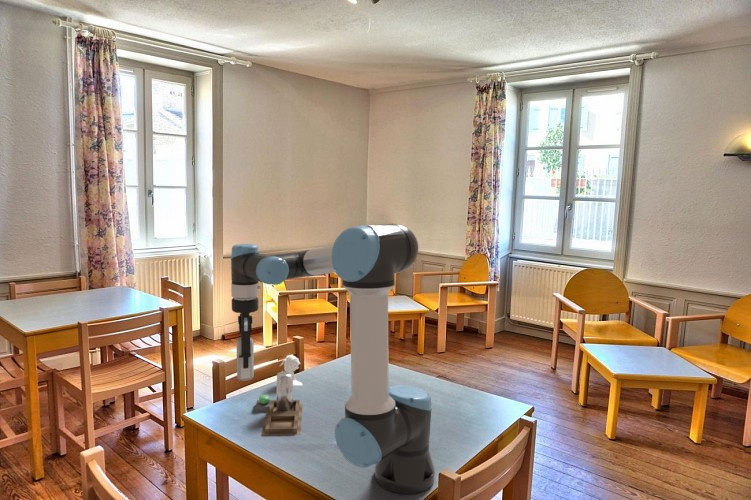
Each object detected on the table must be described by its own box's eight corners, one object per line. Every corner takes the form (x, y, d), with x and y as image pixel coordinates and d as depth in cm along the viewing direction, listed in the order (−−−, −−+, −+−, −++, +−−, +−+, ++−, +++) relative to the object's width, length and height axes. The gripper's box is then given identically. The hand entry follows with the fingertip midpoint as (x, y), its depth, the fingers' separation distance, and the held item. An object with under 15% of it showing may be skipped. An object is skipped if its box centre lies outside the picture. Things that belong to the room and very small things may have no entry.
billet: (292, 414, 158) (292, 377, 156) (275, 414, 157) (276, 377, 156) (292, 407, 163) (293, 371, 161) (277, 407, 162) (277, 371, 160)
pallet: (300, 439, 146) (300, 429, 146) (248, 440, 144) (248, 430, 144) (302, 408, 166) (302, 399, 165) (257, 408, 164) (257, 399, 164)
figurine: (271, 388, 180) (271, 356, 178) (289, 381, 187) (290, 349, 185) (289, 395, 175) (290, 362, 173) (307, 387, 182) (308, 355, 180)
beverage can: (244, 382, 147) (244, 342, 145) (233, 378, 150) (233, 339, 148) (257, 377, 151) (257, 338, 149) (245, 373, 154) (245, 335, 152)
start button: (268, 403, 160) (269, 399, 160) (258, 403, 160) (258, 399, 159) (269, 399, 163) (270, 395, 163) (259, 399, 163) (259, 395, 163)
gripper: (260, 304, 140) (260, 385, 143) (256, 290, 157) (256, 363, 160) (231, 305, 138) (232, 387, 141) (231, 291, 155) (232, 364, 158)
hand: (245, 374), depth 150 cm, fingers closed on beverage can, 5 cm apart
